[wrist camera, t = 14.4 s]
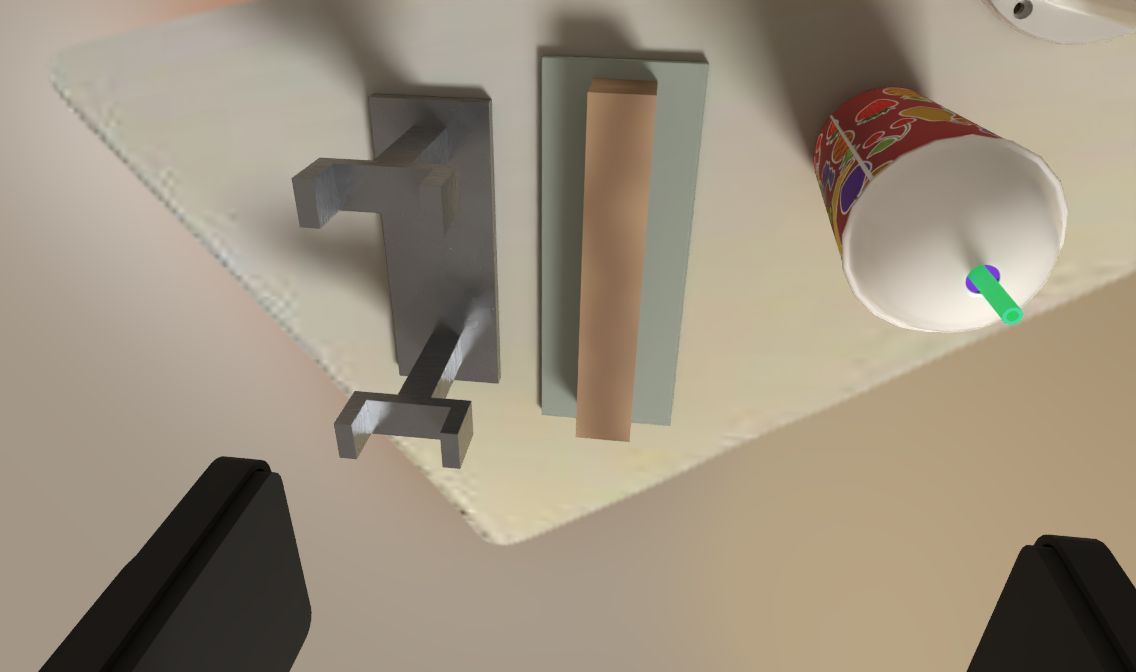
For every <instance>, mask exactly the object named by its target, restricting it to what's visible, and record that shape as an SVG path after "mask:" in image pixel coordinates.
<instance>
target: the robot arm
mask: <svg viewBox="0 0 1136 672" xmlns="http://www.w3.org/2000/svg"><path fill="white" fill-rule="evenodd" d="M983 2H984V3H985V4H986V5H987V6H988V7H989V8H990V10H991V11H992V12H993V13H994V14H995V15H996V16H997V17H998V18H999V19H1000V20H1002V21H1003V22H1005V23H1006V24H1008V25H1009V26H1011V27H1012V28H1014V29H1015V30H1017V31H1019V32H1021V33H1024V34H1026V35H1029V36H1031V37H1033V38H1036V39H1040V40H1044V41H1048V42H1052V43H1056V44H1075V45H1086V44H1093V43H1099V42H1106V41H1112V40H1115V39H1118V38H1121V37H1124V36H1127V35H1131V34H1134V33H1136V0H983ZM1019 2H1020V4H1021V8H1020V10H1019V11H1018V12H1016V13H1014V12H1013V9H1014V7H1015V6H1016V4H1017V3H1019ZM310 623H311V606H310V601H309V597H308V593H307V588H306V584H305V580H304V575H303V570H302V566H301V562H300V558H299V553H298V548H297V544H296V539H295V535H294V531H293V526H292V522H291V517H290V513H289V508H288V505H287V500H286V495H285V491H284V486H283V483H282V479H281V476H280V475H279V474H278V473H275V472H271V469H270V467H269V465H268V464H267V462H266V461H263V460H254V459H245V458H235V457H223V456H222V457H219V458H217V459H216V460H214V461H213V462H212V463H211V464H210V466H209V467H208V468H207V469H206V471H205V472H204V473H203V474H202V475H201V477H200V478H199V479H198V480H197V482H196V483H195V484H194V485H193V486H192V488H191V489H190V490H189V491H188V493H187V494H186V495H185V496H184V497H183V499H182V500H181V501H180V502H179V504H178V505H177V506H176V507H175V509H174V510H173V511H172V512H171V513H170V515H169V516H168V517H167V518H166V520H165V521H164V522H163V523H162V524H161V526H160V527H159V528H158V529H157V531H156V532H155V533H154V534H153V536H152V537H151V538H150V539H149V540H148V542H147V543H146V544H145V545H144V547H143V548H142V549H141V550H140V551H139V553H138V554H137V555H136V556H135V557H134V558H133V559H132V560H131V561H130V562H129V563H128V564H127V565H126V566H125V567H124V568H123V569H122V570H121V571H120V573H119V574H118V575H117V576H116V577H115V579H114V580H113V581H112V582H111V584H110V585H109V586H108V587H107V589H106V590H105V591H104V592H103V593H102V594H101V596H100V597H99V598H98V599H97V601H96V602H95V603H94V605H93V606H92V607H91V608H90V609H89V610H88V612H87V613H86V614H85V615H84V616H83V618H82V619H81V620H80V621H79V623H78V624H77V625H76V626H75V627H74V629H73V630H72V631H71V632H70V634H69V635H68V636H67V637H66V638H65V640H64V641H63V642H62V643H61V645H60V646H59V647H58V648H57V649H56V651H55V652H54V653H53V654H52V655H51V657H50V658H49V659H48V660H47V662H46V663H45V664H44V665H43V667H42V668H41V669H40V670H39V671H38V672H289V671H290V669H291V667H292V665H293V663H294V661H295V659H296V657H297V655H298V653H299V651H300V649H301V647H302V645H303V643H304V641H305V639H306V637H307V634H308V631H309V628H310ZM967 672H1136V589H1135V587H1134V585H1133V584H1132V583H1131V581H1130V580H1129V578H1128V576H1127V575H1126V574H1125V572H1124V571H1123V569H1122V568H1121V566H1120V565H1119V563H1118V562H1117V560H1116V559H1115V557H1114V556H1113V554H1112V553H1111V551H1110V550H1109V549H1108V548H1107V546H1106V545H1105V544H1104V543H1103V542H1101V541H1099V540H1097V539H1090V538H1079V537H1068V536H1057V535H1042V536H1041V537H1039V538H1038V539H1037V541H1036V542H1035V544H1034V545H1026V546H1024V547H1023V548H1022V549H1021V551H1020V553H1019V555H1018V557H1017V559H1016V562H1015V564H1014V566H1013V568H1012V571H1011V573H1010V575H1009V577H1008V580H1007V582H1006V584H1005V587H1004V589H1003V591H1002V593H1001V595H1000V598H999V600H998V602H997V605H996V607H995V609H994V611H993V613H992V616H991V618H990V620H989V622H988V625H987V627H986V629H985V631H984V634H983V636H982V638H981V641H980V643H979V645H978V647H977V649H976V652H975V654H974V656H973V659H972V661H971V663H970V665H969V667H968V670H967Z"/></svg>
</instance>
